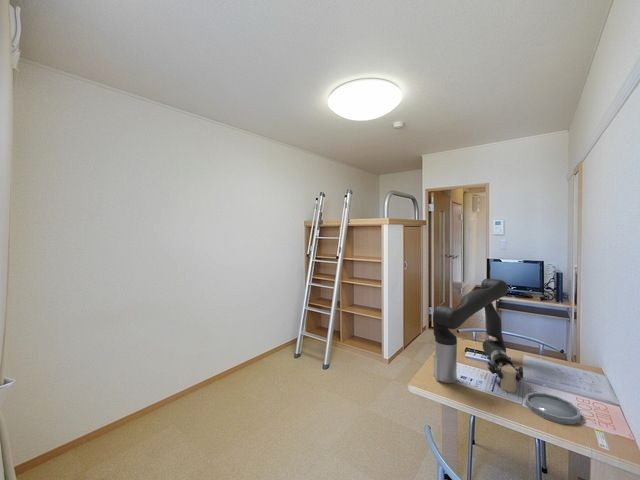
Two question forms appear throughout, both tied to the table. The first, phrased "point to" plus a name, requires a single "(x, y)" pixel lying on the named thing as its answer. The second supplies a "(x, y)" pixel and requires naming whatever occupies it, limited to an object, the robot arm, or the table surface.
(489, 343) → the robot arm
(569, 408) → the dish
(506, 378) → the candle
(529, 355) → the table surface
